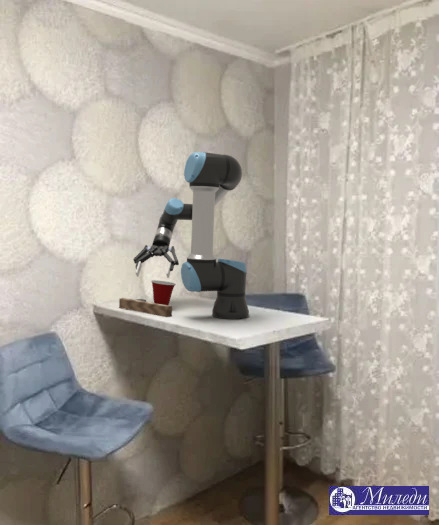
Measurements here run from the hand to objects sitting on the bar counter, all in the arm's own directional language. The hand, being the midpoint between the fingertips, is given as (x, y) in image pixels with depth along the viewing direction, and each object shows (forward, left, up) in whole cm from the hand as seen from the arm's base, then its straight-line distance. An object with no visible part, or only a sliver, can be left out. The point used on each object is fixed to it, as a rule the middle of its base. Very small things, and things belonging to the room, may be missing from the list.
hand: (152, 275), depth 204 cm
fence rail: (-2, +2, -15) cm, 15 cm away
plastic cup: (-2, -4, -15) cm, 16 cm away
